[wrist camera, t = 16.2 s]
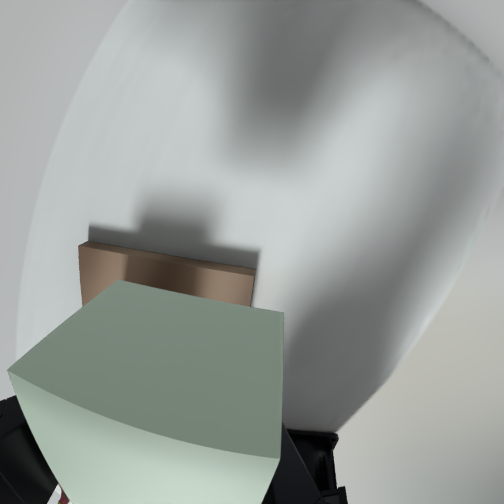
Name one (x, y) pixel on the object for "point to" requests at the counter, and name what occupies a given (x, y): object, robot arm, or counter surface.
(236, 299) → the walnut baseboard
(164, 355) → the sage green brick
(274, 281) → the counter surface
